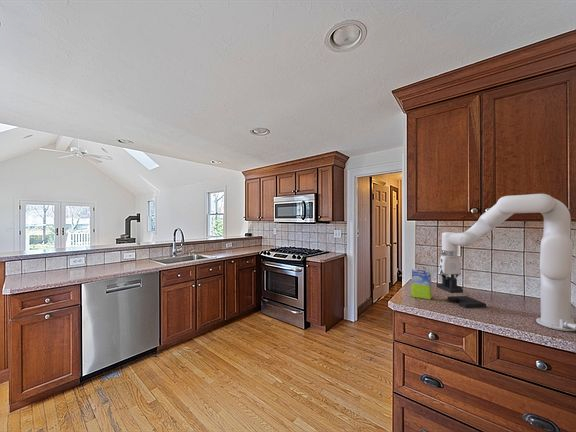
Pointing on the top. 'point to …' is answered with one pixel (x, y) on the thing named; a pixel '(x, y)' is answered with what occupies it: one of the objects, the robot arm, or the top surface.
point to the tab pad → (450, 286)
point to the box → (421, 284)
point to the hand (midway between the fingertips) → (449, 285)
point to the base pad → (467, 301)
